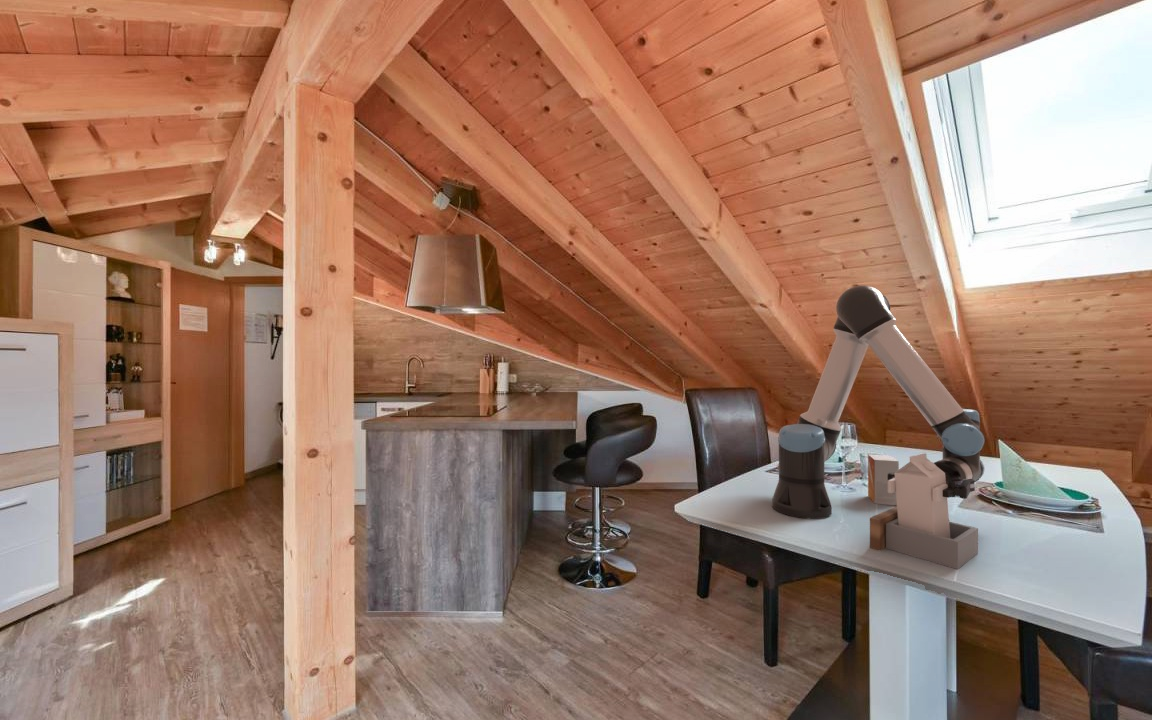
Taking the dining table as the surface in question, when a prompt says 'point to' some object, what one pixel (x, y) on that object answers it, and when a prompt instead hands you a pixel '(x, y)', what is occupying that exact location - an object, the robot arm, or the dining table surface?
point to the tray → (934, 543)
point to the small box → (881, 478)
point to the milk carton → (921, 497)
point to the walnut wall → (881, 528)
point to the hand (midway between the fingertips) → (911, 491)
